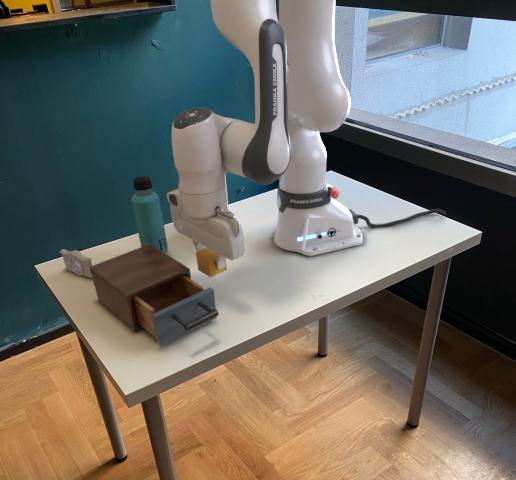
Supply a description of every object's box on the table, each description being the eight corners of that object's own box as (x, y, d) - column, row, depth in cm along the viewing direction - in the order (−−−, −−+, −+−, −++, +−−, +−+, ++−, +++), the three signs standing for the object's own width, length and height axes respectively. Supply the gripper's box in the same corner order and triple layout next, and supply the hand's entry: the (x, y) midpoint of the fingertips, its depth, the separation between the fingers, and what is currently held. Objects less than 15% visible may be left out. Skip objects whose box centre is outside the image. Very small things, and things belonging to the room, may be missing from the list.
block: (227, 269, 109) (225, 251, 106) (210, 277, 107) (208, 259, 104) (214, 262, 112) (212, 244, 109) (198, 270, 110) (195, 252, 107)
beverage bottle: (164, 265, 123) (150, 183, 111) (138, 263, 125) (122, 182, 112) (173, 252, 128) (161, 173, 116) (148, 251, 130) (133, 172, 117)
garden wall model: (105, 279, 119) (100, 256, 115) (100, 283, 118) (94, 260, 114) (70, 267, 124) (63, 245, 121) (64, 270, 123) (57, 248, 120)
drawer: (233, 329, 100) (231, 300, 96) (177, 360, 93) (171, 330, 89) (176, 291, 112) (172, 263, 108) (122, 315, 105) (115, 287, 101)
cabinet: (194, 303, 109) (189, 268, 104) (135, 332, 102) (126, 295, 97) (155, 277, 119) (149, 243, 114) (98, 301, 112) (89, 267, 106)
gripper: (250, 209, 95) (255, 274, 104) (186, 183, 108) (195, 242, 116) (223, 221, 92) (231, 286, 101) (161, 192, 104) (172, 252, 113)
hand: (211, 262), depth 108 cm, fingers closed on block, 4 cm apart
